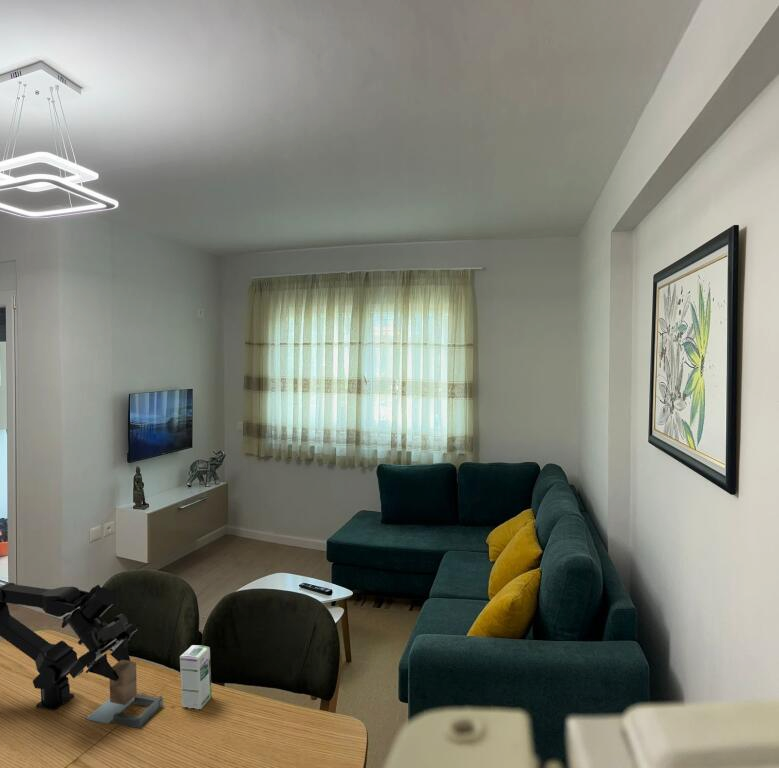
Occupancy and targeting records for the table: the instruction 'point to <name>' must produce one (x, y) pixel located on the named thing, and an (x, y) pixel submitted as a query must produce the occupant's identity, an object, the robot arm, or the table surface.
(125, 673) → the walnut block
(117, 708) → the mat
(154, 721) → the table surface
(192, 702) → the syrup box
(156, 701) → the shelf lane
